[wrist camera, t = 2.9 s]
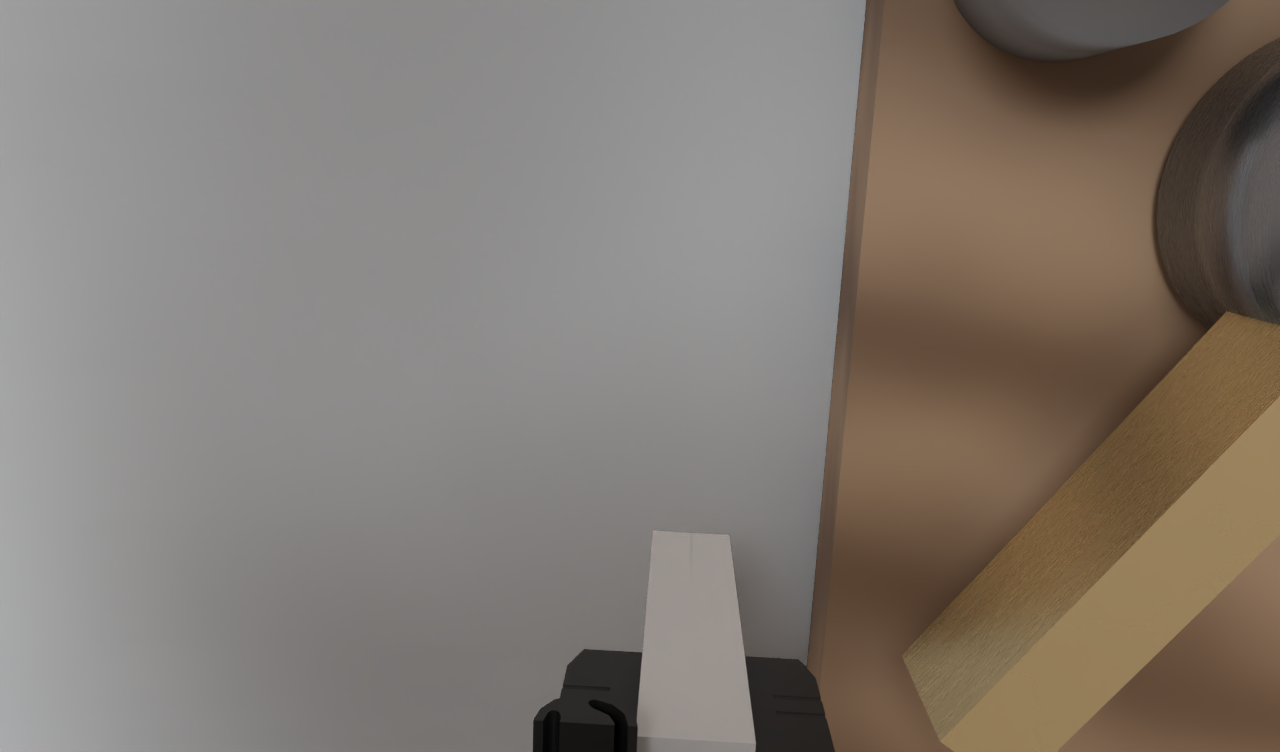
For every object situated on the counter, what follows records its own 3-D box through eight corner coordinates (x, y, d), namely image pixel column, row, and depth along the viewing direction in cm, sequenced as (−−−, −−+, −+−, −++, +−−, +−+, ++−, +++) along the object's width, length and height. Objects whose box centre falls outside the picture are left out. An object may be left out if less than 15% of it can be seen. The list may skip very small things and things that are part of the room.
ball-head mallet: (1338, -58, 18) (1570, -138, 13) (1584, 163, 18) (1886, 162, 14) (799, 554, 21) (832, 662, 16) (1023, 721, 22) (1115, 868, 17)
